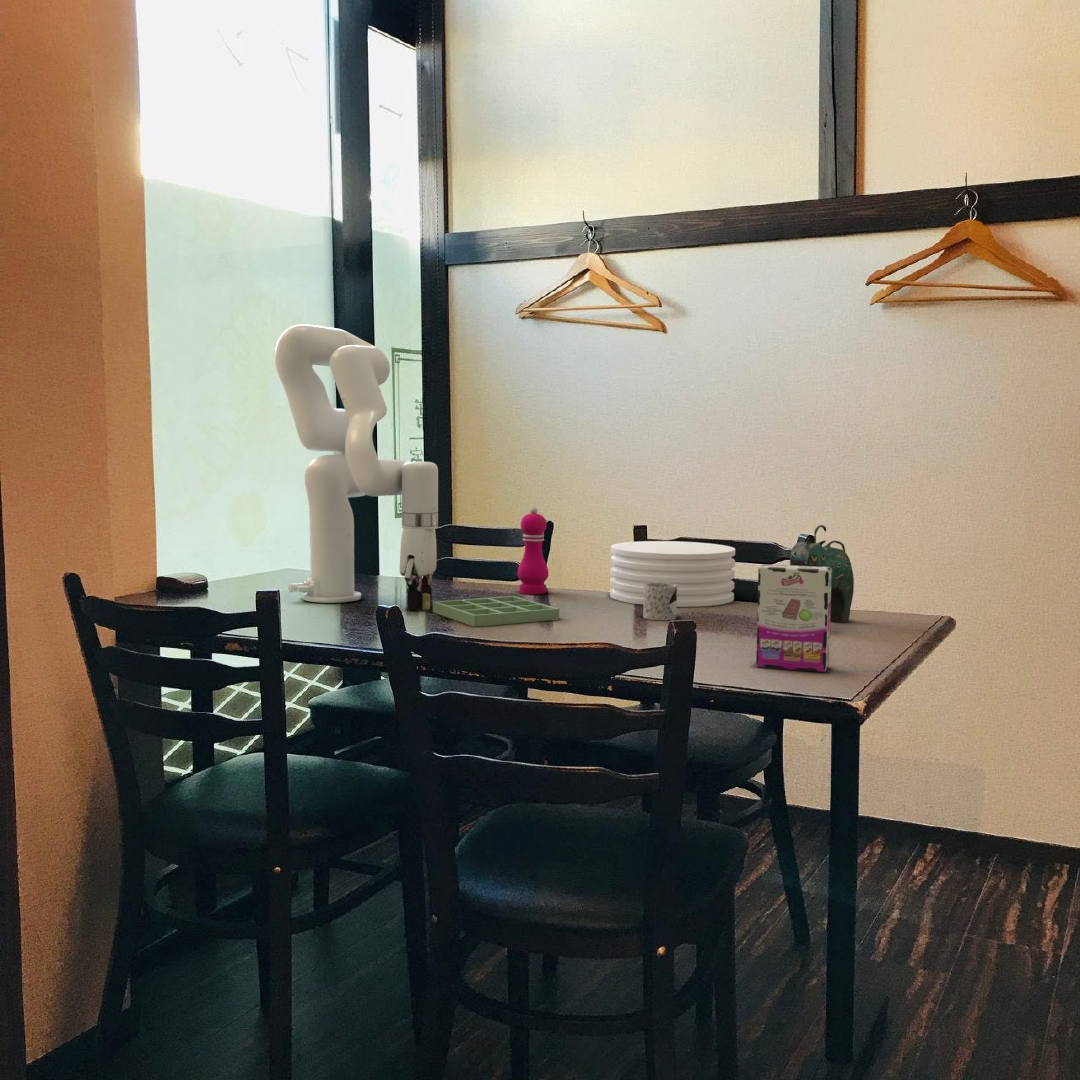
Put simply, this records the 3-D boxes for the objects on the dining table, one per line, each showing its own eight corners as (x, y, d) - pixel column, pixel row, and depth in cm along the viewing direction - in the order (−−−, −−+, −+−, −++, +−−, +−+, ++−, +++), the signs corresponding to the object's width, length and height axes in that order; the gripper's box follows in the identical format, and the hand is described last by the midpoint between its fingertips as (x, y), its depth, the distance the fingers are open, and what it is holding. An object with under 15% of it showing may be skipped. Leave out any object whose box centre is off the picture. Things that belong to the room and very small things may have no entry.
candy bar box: (829, 667, 180) (833, 566, 178) (825, 673, 175) (829, 569, 174) (760, 661, 184) (763, 562, 182) (754, 667, 179) (757, 566, 178)
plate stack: (590, 591, 262) (590, 542, 261) (694, 586, 272) (695, 539, 271) (644, 609, 236) (646, 555, 235) (758, 603, 246) (759, 551, 245)
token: (414, 610, 231) (414, 596, 230) (405, 607, 235) (405, 593, 234) (433, 609, 233) (433, 595, 233) (425, 606, 237) (425, 592, 236)
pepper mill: (549, 590, 262) (550, 505, 260) (546, 595, 255) (547, 507, 253) (519, 589, 263) (520, 505, 261) (515, 594, 256) (516, 507, 254)
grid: (474, 626, 213) (474, 615, 213) (432, 612, 229) (432, 601, 229) (559, 619, 222) (559, 608, 222) (513, 606, 239) (513, 595, 238)
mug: (677, 620, 223) (678, 587, 222) (643, 619, 223) (644, 587, 222) (673, 612, 233) (674, 581, 232) (641, 611, 233) (642, 580, 232)
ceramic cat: (808, 634, 210) (812, 528, 208) (778, 629, 214) (782, 525, 212) (858, 621, 224) (862, 522, 222) (829, 617, 228) (833, 520, 226)
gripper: (417, 517, 241) (417, 601, 243) (387, 523, 225) (387, 613, 227) (450, 518, 239) (450, 603, 241) (422, 524, 223) (422, 615, 225)
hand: (419, 606), depth 234 cm, fingers closed on token, 4 cm apart
